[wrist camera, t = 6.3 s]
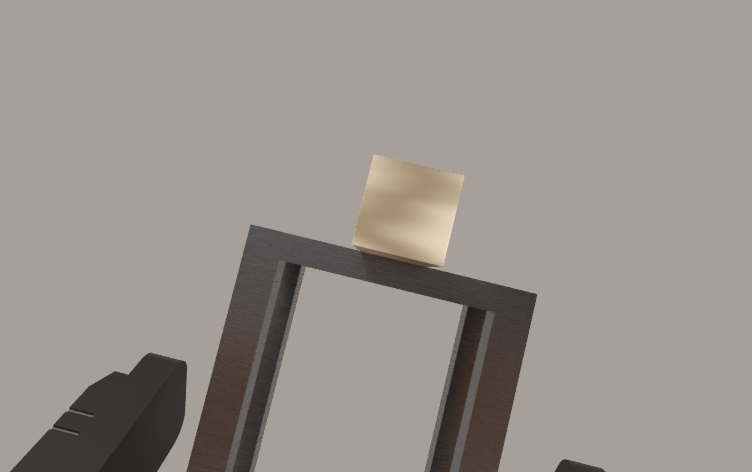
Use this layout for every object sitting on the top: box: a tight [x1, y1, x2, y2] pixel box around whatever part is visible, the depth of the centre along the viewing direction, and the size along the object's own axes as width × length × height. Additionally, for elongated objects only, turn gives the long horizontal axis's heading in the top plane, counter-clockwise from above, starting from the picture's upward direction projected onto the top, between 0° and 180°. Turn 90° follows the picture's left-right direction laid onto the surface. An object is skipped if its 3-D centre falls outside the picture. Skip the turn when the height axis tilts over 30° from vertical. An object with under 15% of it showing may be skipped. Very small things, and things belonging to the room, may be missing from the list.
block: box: [352, 155, 464, 267], centre depth 29 cm, size 4×20×4 cm, turn 179°
